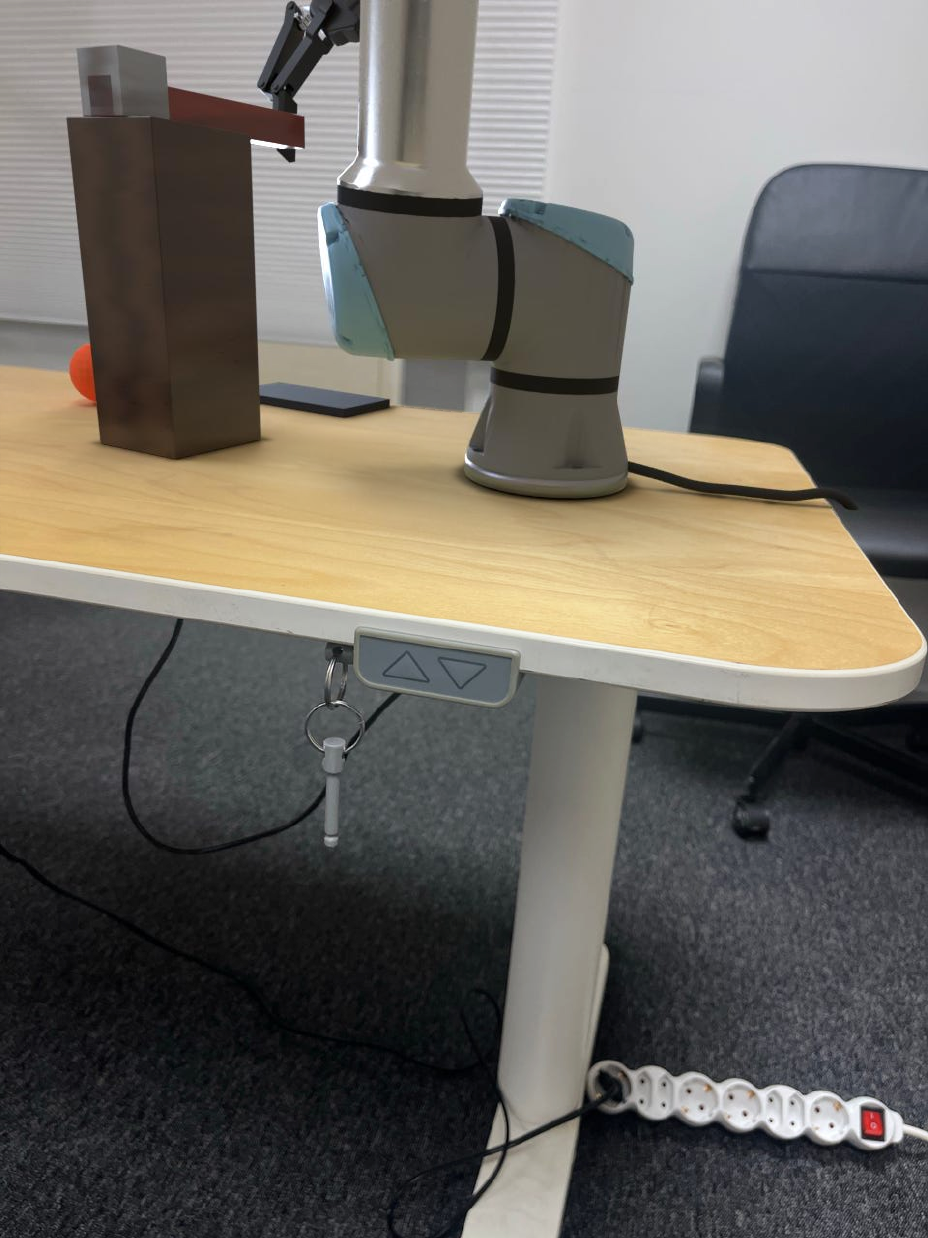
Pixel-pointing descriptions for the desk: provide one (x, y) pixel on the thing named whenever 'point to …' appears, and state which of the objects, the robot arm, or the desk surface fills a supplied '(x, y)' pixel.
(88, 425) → the desk surface
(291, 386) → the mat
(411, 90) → the robot arm
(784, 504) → the desk surface
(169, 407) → the tall post
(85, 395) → the clementine
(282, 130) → the hammer
